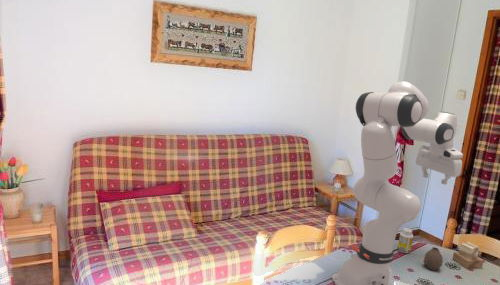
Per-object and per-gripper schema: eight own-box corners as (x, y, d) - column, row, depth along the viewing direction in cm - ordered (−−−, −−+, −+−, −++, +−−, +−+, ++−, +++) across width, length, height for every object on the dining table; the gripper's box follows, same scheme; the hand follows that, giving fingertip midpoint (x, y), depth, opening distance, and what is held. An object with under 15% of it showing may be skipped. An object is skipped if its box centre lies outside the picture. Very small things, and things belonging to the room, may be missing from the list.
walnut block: (466, 269, 158) (467, 261, 157) (452, 260, 165) (453, 251, 165) (481, 268, 160) (483, 260, 159) (467, 259, 167) (469, 251, 167)
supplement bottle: (408, 248, 172) (412, 227, 170) (412, 254, 167) (416, 233, 165) (395, 247, 173) (399, 226, 170) (399, 252, 167) (403, 231, 165)
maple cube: (469, 259, 159) (472, 248, 158) (458, 254, 163) (461, 243, 162) (477, 257, 161) (479, 247, 160) (466, 252, 165) (468, 241, 164)
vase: (443, 273, 152) (447, 254, 151) (425, 270, 154) (428, 251, 152) (438, 265, 159) (442, 246, 157) (421, 262, 160) (424, 243, 159)
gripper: (415, 144, 168) (410, 173, 171) (456, 155, 150) (449, 188, 153) (425, 144, 171) (419, 173, 173) (466, 155, 153) (460, 187, 155)
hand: (434, 180), depth 163 cm, fingers open, 8 cm apart
